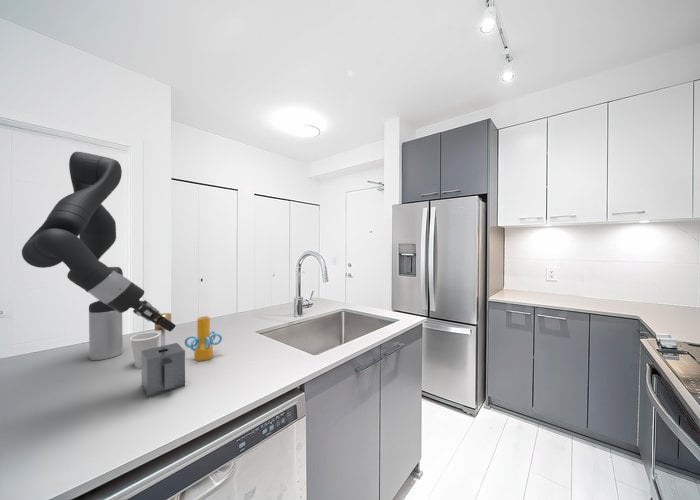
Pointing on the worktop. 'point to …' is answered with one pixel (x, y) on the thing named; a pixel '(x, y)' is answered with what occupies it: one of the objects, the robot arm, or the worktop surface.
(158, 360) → the frame
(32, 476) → the worktop surface
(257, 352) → the worktop surface
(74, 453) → the worktop surface
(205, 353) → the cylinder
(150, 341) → the dixie cup
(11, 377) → the worktop surface
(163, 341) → the plunger
